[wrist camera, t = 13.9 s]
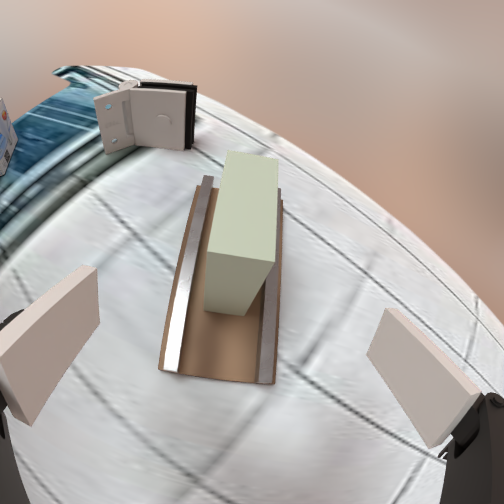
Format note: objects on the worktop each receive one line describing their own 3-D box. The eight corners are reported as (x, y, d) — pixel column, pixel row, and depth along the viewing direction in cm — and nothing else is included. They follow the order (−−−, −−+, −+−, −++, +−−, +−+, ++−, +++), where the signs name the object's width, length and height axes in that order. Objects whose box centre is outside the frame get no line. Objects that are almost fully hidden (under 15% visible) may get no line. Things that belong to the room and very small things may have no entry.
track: (159, 369, 23) (154, 367, 21) (196, 190, 34) (197, 174, 32) (272, 384, 25) (280, 383, 22) (280, 204, 36) (287, 189, 33)
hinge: (103, 155, 35) (91, 100, 26) (112, 134, 37) (103, 82, 29) (193, 151, 38) (196, 93, 29) (194, 130, 40) (198, 76, 32)
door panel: (203, 310, 26) (207, 251, 16) (216, 232, 31) (227, 150, 20) (243, 316, 27) (275, 262, 16) (251, 238, 31) (278, 159, 21)
